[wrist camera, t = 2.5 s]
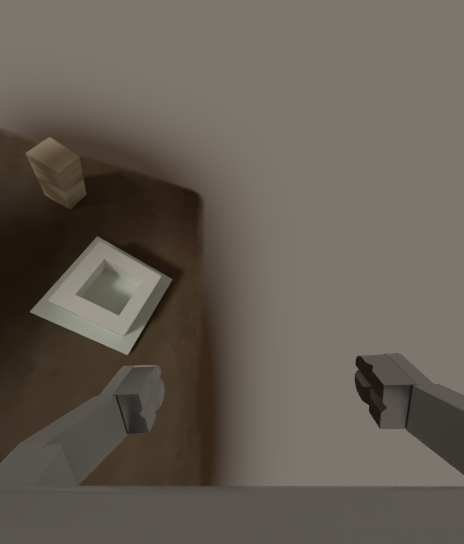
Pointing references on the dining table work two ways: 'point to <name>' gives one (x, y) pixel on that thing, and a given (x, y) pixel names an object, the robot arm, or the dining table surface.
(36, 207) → the dining table surface
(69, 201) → the tan tall wooden block
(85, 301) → the white socket base
